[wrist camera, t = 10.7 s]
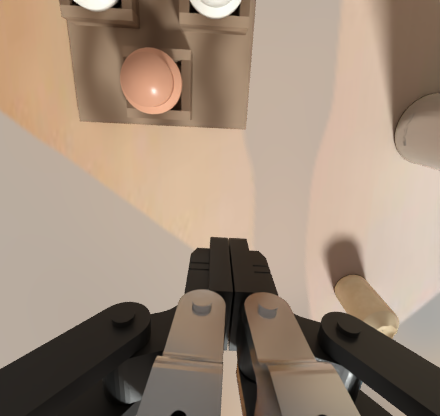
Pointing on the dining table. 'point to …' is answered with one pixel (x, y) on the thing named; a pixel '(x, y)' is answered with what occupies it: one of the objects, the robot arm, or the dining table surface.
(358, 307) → the candle
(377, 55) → the dining table surface
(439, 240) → the dining table surface
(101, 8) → the knob
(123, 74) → the middle knob
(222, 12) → the knob
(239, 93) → the mount block
